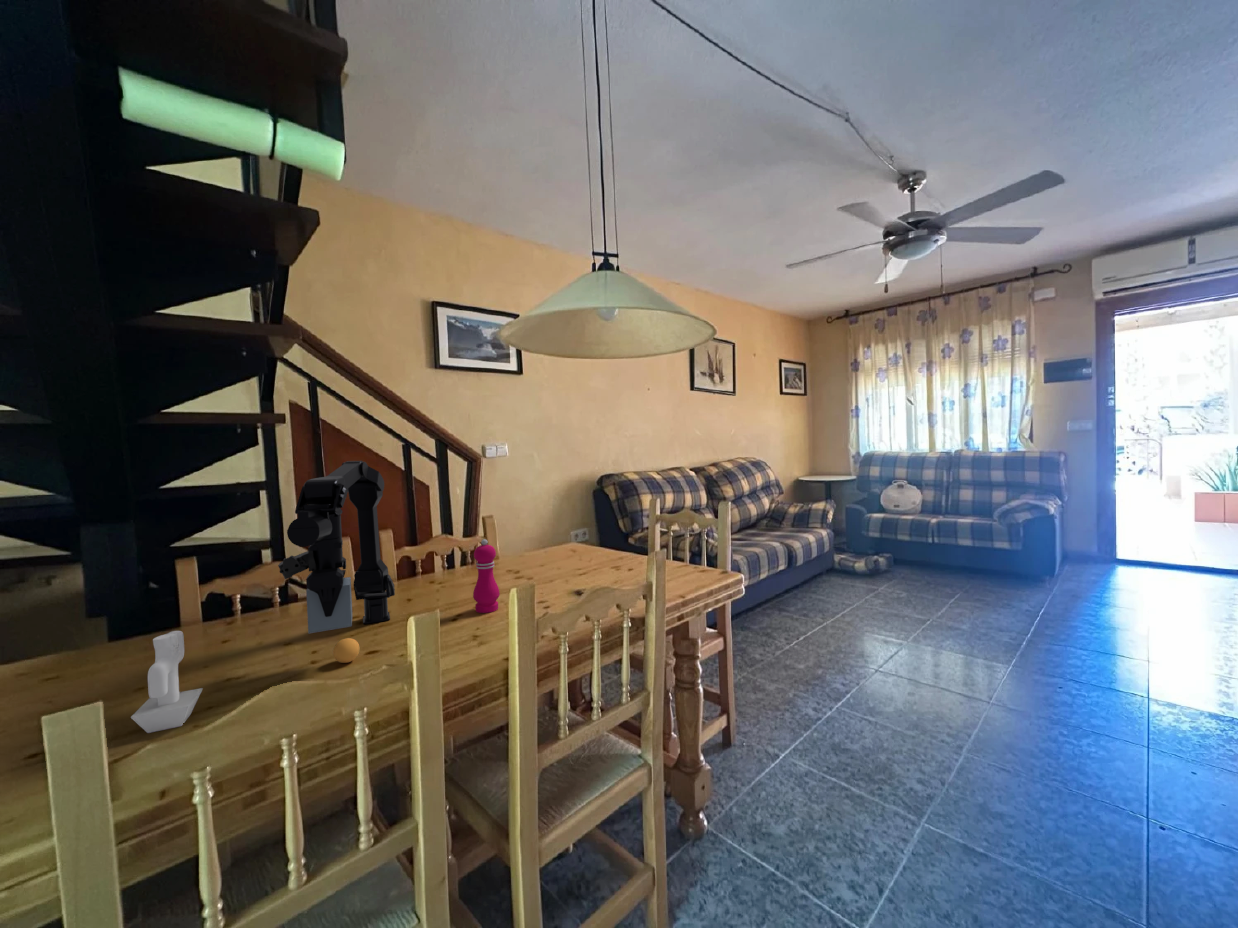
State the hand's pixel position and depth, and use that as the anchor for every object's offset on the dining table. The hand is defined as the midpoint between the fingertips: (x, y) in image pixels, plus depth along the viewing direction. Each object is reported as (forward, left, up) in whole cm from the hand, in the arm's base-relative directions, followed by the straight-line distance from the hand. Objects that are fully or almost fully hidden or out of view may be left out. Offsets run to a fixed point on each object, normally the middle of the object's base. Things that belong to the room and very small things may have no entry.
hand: (329, 610), depth 105 cm
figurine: (+13, -23, -12) cm, 29 cm away
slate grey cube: (0, 0, -3) cm, 3 cm away
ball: (0, +3, -9) cm, 9 cm away
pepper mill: (-20, +37, -12) cm, 44 cm away
